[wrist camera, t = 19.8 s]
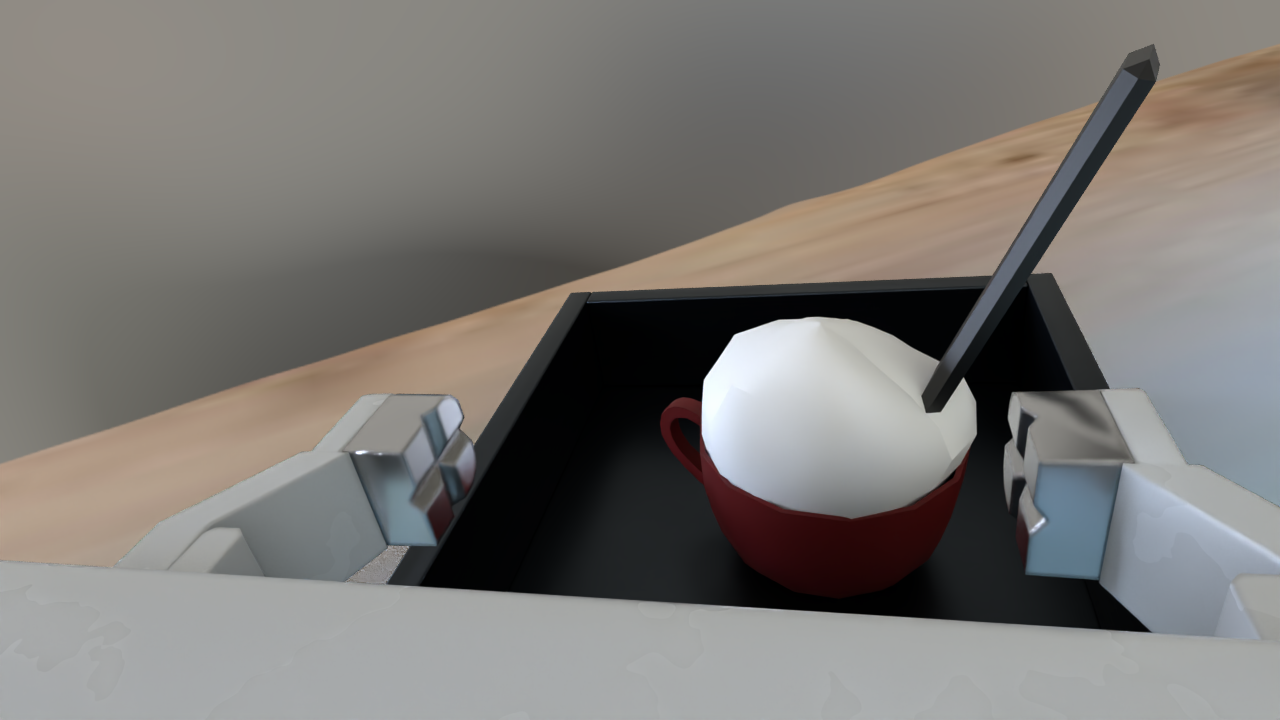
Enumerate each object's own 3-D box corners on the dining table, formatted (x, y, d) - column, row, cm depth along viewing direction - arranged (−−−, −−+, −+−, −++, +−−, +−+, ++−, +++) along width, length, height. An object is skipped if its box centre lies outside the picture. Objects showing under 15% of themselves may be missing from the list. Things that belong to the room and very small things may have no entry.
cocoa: (640, 525, 22) (553, 90, 16) (795, 426, 25) (770, 25, 19) (932, 759, 15) (968, 150, 9) (1099, 585, 18) (1208, 35, 12)
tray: (356, 875, 16) (279, 749, 14) (591, 388, 30) (570, 292, 28) (1279, 1036, 12) (1365, 891, 10) (1038, 384, 26) (1052, 272, 24)
